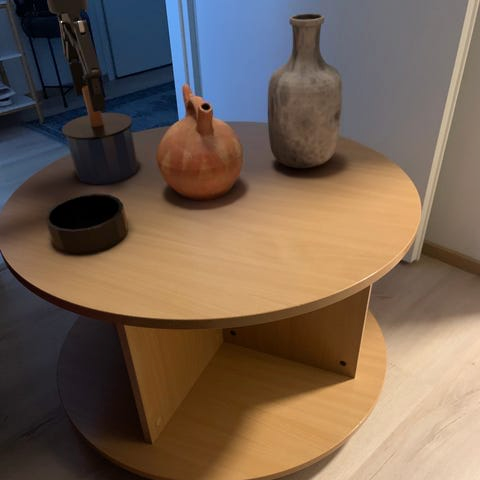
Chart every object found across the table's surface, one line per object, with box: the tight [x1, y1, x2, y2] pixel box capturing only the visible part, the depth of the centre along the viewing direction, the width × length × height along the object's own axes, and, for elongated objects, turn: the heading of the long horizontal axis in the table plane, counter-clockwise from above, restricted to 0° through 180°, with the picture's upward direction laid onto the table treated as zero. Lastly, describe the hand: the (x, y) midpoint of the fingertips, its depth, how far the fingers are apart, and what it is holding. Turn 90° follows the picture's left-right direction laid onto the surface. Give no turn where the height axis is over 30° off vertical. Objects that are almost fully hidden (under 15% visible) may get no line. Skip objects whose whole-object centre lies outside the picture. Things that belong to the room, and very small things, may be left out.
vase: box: [267, 12, 343, 169], centre depth 109 cm, size 16×16×30 cm
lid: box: [61, 86, 133, 140], centre depth 112 cm, size 16×16×9 cm
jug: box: [156, 83, 244, 201], centre depth 105 cm, size 18×18×20 cm
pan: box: [44, 193, 129, 255], centre depth 97 cm, size 14×14×5 cm
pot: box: [65, 126, 139, 185], centre depth 118 cm, size 14×14×10 cm
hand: (90, 102), depth 111 cm, fingers open, 13 cm apart
